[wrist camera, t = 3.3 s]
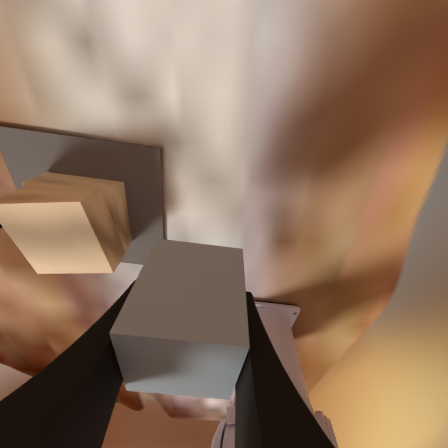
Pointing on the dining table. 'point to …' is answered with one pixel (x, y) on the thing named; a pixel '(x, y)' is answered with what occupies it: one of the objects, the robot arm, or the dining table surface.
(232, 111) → the dining table surface
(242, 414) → the robot arm
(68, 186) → the tower base
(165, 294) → the gray block
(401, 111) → the dining table surface
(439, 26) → the dining table surface
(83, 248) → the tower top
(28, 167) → the felt mat
